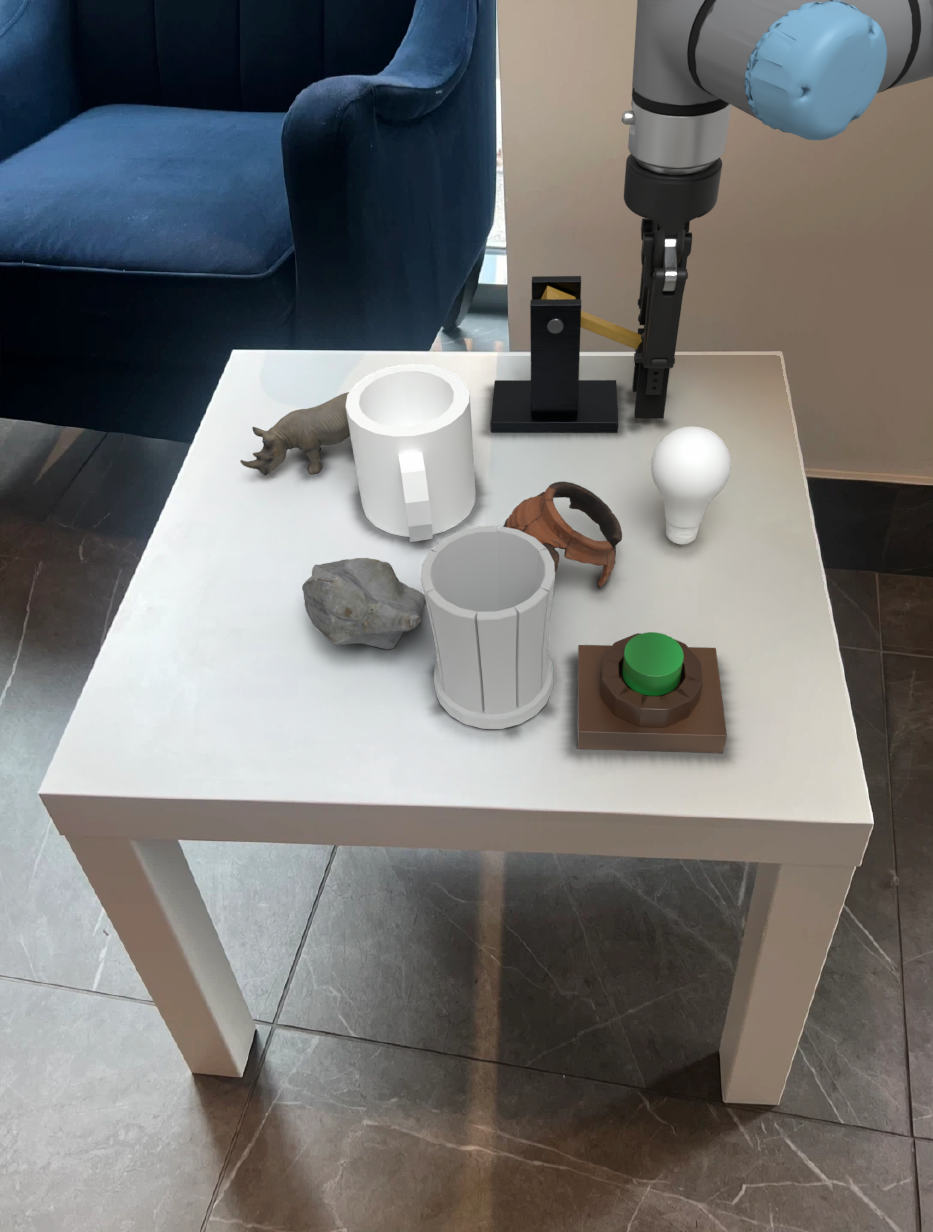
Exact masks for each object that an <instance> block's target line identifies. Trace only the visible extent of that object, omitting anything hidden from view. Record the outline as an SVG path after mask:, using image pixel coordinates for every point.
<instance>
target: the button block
mask: <svg viewBox="0 0 933 1232" xmlns="http://www.w3.org/2000/svg"><path fill="white" fill-rule="evenodd" d="M639 634H641V633H640V632H639V633H634V634H631V635H630V636H627V637H624V638H622V639H620V640H617V641H615V642H614V643H612V645H609V644H608V645H605V644H604V645H601V644H578V648H577V649H578V650H577V749H579V750H609V751H614V750H615V751H641V752H642V751H643V752H645V751H646V752H672V753H673V752H677V753H709V754H714V753H715V754H723V753H724V750H725V746H726V742H727V737H728V734H727V727H726V718H725V717H726V716H725V710H724V703H723V693H722V687H721V678H720V670H719V663H718V655H717V648H716V647H700V646H699V647H697V646H688V645H687V644H686V643H684V642H682V641H680V640H678V639H675V638H673V639H674V640H675V641H676V642H677V643H678V644H679V645H680V646H681V648H682V650H683V655H684V658H683V664H682V671H681V677H680V681H679V683H678V685H677V686H676V688H675V689H674V690H672V691H671V692H669V693H667V694H664V695H660V696H647V695H643V694H640V693H638V692H636V691H634V690H633V689H631V688H630V687H629V686H628V685H627V684H626V682H625V680H624V678H623V673H622V671H623V660H624V650H625V647H626V645H627V643H628V642H629V641H630V640H631V639H632V638H633V637H635V636H637V635H639Z"/></svg>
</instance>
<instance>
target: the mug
mask: <svg viewBox="0 0 933 1232" xmlns="http://www.w3.org/2000/svg"><path fill="white" fill-rule="evenodd" d="M348 392H349V393H348V395H347V400H346V412H347V418H348V424H349V430H350V436H349V437H350V442H351V448H352V453H353V460H354V465H355V473H356V477H357V478H356V479H357V484H358V489H359V495H360V501H361V507H362V510H363V512H364V515H365V517H366V519H367V520H369V522H370V523H371V524H372V525H373V526H374V527H376V528H377V529H379V530H382V531H384V532H385V533H387V534H389V535H395V536H400V537H405V538H409V542H410V543H413V542H421V541H427V540H434V535H437V534H442V533H444V532H447V531H448V530H450V529H452V528H454V527H457V526H459V525H460V524H461V523H462V522H463V521H464V520H465V519H466V518H467V517H468V516H470V514H471V512H472V510H473V508H474V507H475V505H476V478H475V461H474V459H475V458H474V443H473V428H472V427H473V426H472V425H473V424H472V411H471V410H472V409H471V393H470V389H469V387H468V386H467V383H466V382H465V380H464V379H463V378H462V377H460V376H459V375H457V374H456V373H455V372H454V371H452V370H449V369H446V368H444V367H441V366H438V365H432V364H426V363H425V364H424V363H403V364H397V365H396V364H395V365H393V366H388V367H383V368H381V369H378V370H376V371H374V372H371V373H369V374H367V375H366V376H364V377H362V379H360V380H359V381H357V382H356V383H355V384H353V386H352V388H351V389H350V391H348Z"/></svg>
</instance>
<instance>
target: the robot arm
mask: <svg viewBox="0 0 933 1232" xmlns="http://www.w3.org/2000/svg"><path fill="white" fill-rule="evenodd" d="M636 3H637V5H636V15H635V16H636V17H635V18H636V19H635V32H634V33H635V34H634V49H633V50H634V51H633V67H632V80H631V82H632V83H631V85H632V86H631V88H632V89H631V103H630V105H631V110H624V111H623V112H622V114H621V122H622V123H623V125H626V126H627V125H628V126H629V128H628V145H627V147H628V151H629V153H630V154H629V155H628V156H627V158H626V160H625V173H624V187H623V202H624V203H625V205H626V207H627V208H628V209H629V210H630V211H631V212H632V213H633V214H634V215H637V216H639V217H640V218H641V224H640V238H641V252H640V259H641V260H640V261H641V273H640V274H641V275H640V285H639V297H638V299H637V306H638V309H639V310H640V311H639V314H638V316H637V322H638V324H639V326H643V327H639V328H637V333H638V334H640V335H642V334H643V333H644V344H643V352H642V353H635V352H634V353H633V363H634V366H633V367H634V369H633V377H632V387H631V388H632V393H635V401H634V413H633V415H634V417H633V418H634V419H636V420H639V419H640V420H664V419H665V411H666V410H665V409H666V404H667V403H666V402H667V395H668V386H669V378H670V370H671V369H673V368H674V365H675V363H676V358H675V355H676V349H677V343H678V341H677V340H678V334H679V326H680V319H681V314H682V313H681V311H682V305H683V297H684V292H685V288H686V284H687V283H686V282H687V280H688V278H689V272H688V269H687V265H688V264H687V263H688V257H689V256H690V255H691V253H692V246H693V245H692V244H693V232H691V231H690V227H691V225H690V224H691V223H690V222H691V221H693V220H695V219H699V218H702V217H704V216H705V215H707V214H709V213H710V212H711V211H712V210H714V207H715V206H716V205H717V202H718V198H719V197H718V196H719V191H720V183H721V178H722V177H721V176H722V170H723V161H722V159H721V156H723V155H724V154H725V151H726V146H727V139H728V131H729V127H730V126H729V125H730V119H731V112H732V107H735V108H736V109H739V110H740V111H742V112H744V113H745V114H747V115H749V116H751V117H753V118H755V119H757V120H758V121H760V122H761V123H762V124H763V125H765V126H768V127H769V128H771V129H773V130H779V131H780V132H782V133H785V134H786V133H787V134H792V135H795V136H797V137H800V138H802V139H805V140H808V141H823V140H829V139H831V138H834V137H836V136H838V135H840V134H842V133H843V132H845V131H846V130H847V128H848V126H849V124H850V123H851V122H853V121H855V120H858V119H860V118H861V117H862V116H863V114H864V113H866V111H867V109H868V108H869V106H870V105H871V104H872V102H873V100H874V99H875V97H876V95H877V94H880V93H883V92H885V91H887V90H890V89H894V88H897V87H900V86H904V85H908V84H911V83H916V82H918V81H922V80H926V79H930V78H932V77H933V0H637V1H636Z"/></svg>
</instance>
